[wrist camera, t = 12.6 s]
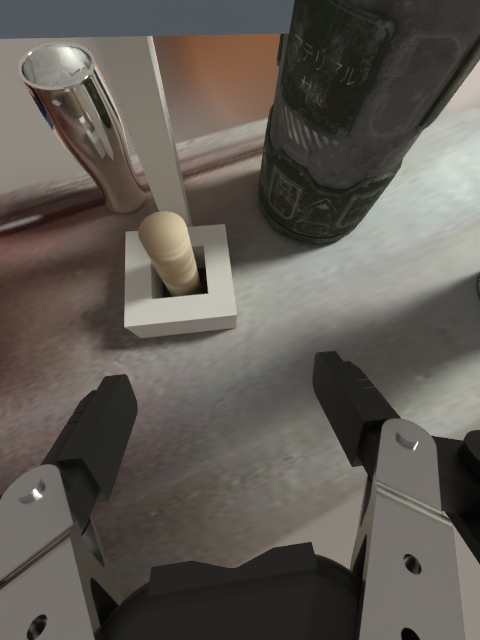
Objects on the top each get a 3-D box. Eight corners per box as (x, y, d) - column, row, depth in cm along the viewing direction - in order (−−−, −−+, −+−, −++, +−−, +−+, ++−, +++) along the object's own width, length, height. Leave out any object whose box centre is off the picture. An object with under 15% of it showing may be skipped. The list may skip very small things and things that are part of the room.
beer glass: (94, 213, 35) (0, 84, 20) (108, 175, 37) (32, 35, 23) (143, 219, 35) (83, 95, 21) (154, 181, 37) (107, 45, 23)
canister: (304, 267, 34) (594, -241, 7) (235, 191, 37) (252, -341, 10) (382, 213, 37) (782, -268, 10) (313, 148, 40) (476, -337, 14)
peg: (198, 273, 33) (180, 206, 21) (205, 300, 31) (192, 245, 20) (168, 281, 32) (134, 217, 21) (175, 309, 31) (143, 256, 20)
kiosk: (130, 339, 30) (-453, -6, 4) (131, 231, 34) (-148, -243, 9) (245, 326, 31) (321, -9, 5) (231, 223, 35) (236, -219, 10)
